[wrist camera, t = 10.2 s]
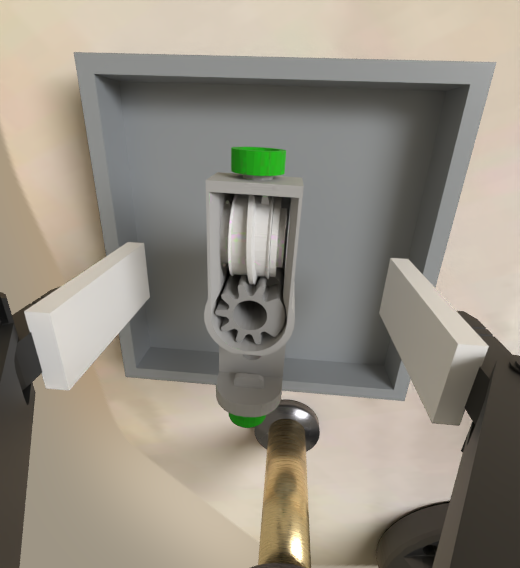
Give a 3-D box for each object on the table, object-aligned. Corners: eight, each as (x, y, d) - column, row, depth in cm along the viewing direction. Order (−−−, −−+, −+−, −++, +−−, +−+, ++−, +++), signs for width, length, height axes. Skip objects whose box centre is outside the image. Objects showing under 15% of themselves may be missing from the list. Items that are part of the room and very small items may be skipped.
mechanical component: (241, 305, 22) (207, 428, 13) (246, 135, 18) (198, 148, 9) (286, 309, 22) (282, 436, 13) (302, 138, 18) (312, 155, 9)
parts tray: (391, 370, 24) (404, 401, 21) (143, 350, 25) (125, 376, 22) (462, 74, 17) (496, 62, 14) (107, 64, 18) (73, 52, 15)
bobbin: (315, 449, 28) (329, 644, 17) (254, 443, 28) (232, 631, 18) (322, 402, 26) (342, 590, 15) (256, 396, 26) (232, 577, 15)
